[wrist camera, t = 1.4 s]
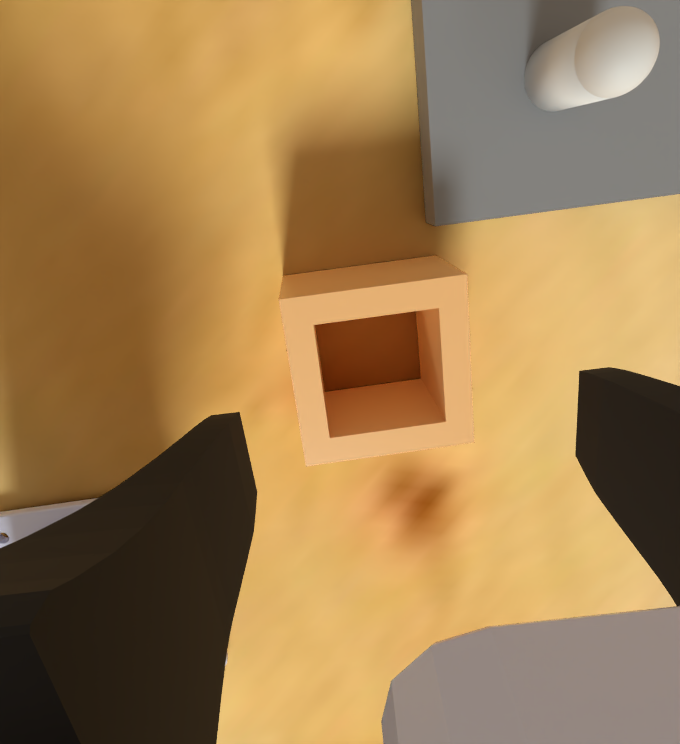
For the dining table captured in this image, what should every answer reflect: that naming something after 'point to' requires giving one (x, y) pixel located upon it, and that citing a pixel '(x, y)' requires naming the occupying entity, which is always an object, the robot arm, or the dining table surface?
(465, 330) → the orange loop
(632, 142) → the hook board
